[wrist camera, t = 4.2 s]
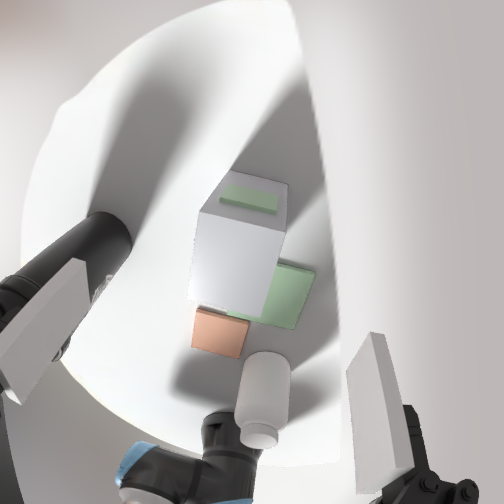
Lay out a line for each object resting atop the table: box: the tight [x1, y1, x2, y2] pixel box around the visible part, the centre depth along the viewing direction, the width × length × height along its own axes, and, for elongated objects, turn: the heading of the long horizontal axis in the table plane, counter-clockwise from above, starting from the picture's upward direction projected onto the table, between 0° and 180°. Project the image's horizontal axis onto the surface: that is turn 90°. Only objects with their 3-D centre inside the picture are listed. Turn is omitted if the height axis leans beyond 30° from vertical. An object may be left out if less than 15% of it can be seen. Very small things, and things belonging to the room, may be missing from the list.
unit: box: [187, 170, 288, 318], centre depth 33 cm, size 10×7×13 cm
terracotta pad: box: [191, 308, 249, 359], centre depth 48 cm, size 8×8×1 cm
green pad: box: [227, 263, 315, 330], centre depth 43 cm, size 10×10×1 cm
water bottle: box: [0, 212, 132, 362], centre depth 33 cm, size 10×10×23 cm
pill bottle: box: [234, 352, 291, 449], centre depth 45 cm, size 8×8×15 cm
